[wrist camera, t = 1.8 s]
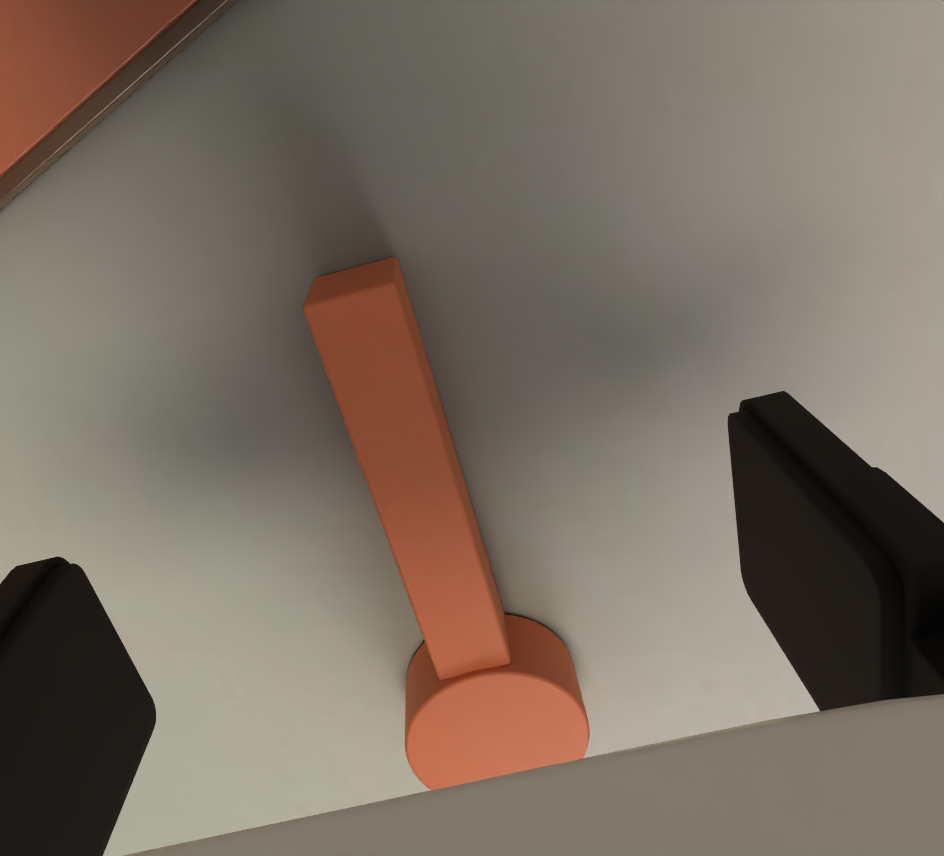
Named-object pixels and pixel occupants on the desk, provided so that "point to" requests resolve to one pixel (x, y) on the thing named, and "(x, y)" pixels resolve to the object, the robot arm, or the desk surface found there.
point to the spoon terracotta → (440, 550)
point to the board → (79, 70)
